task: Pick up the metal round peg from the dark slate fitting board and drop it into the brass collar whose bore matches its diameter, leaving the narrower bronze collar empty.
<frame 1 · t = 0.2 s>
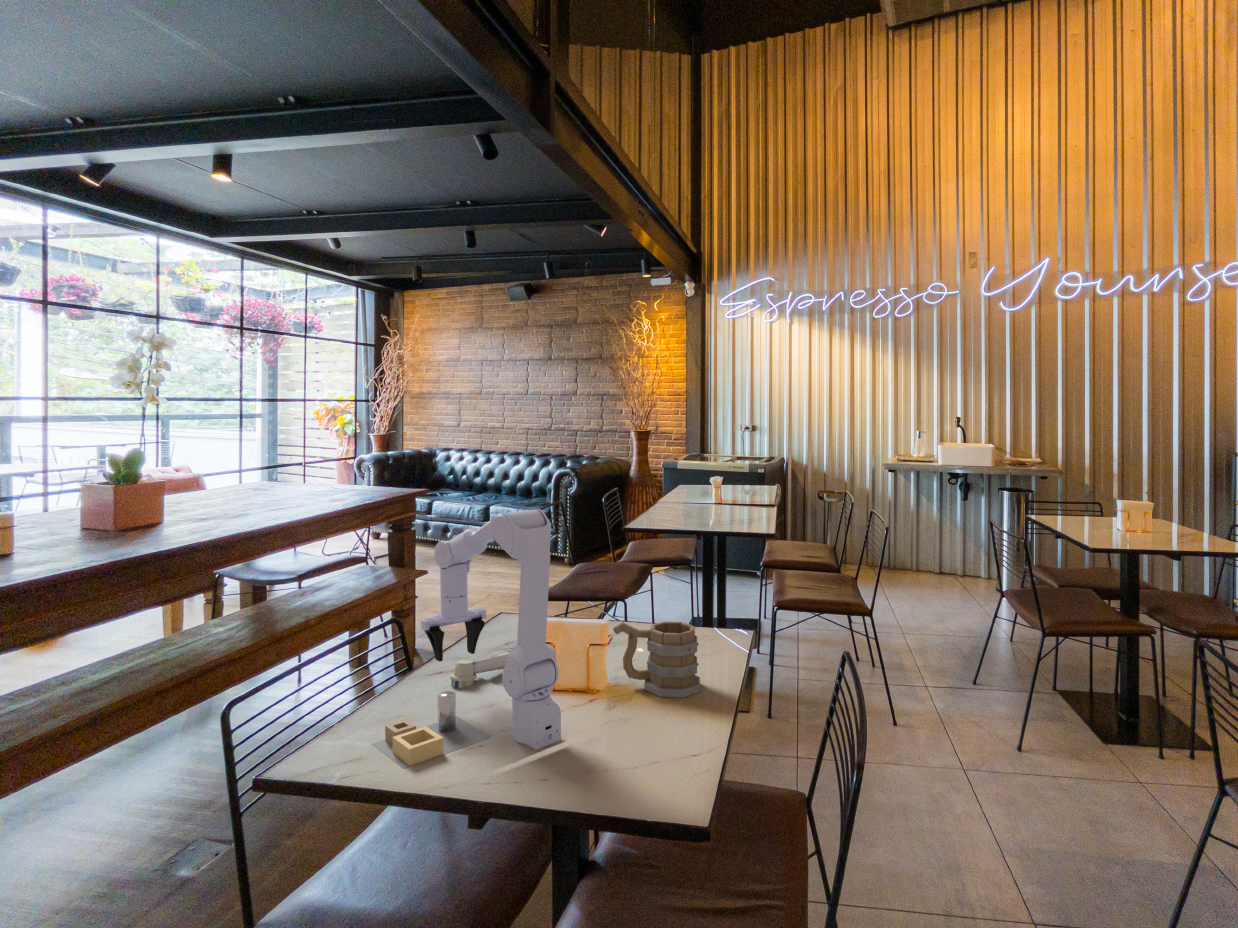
hand: (455, 656, 153), 10 cm above the table, tool pointing down, fingers open, 7 cm apart
fitting board: (432, 744, 132), on the table
metal round peg: (447, 728, 137), point 1 cm above the table, touching fitting board
tankard: (656, 687, 161), on the table
toothbrush head: (495, 676, 169), on the table
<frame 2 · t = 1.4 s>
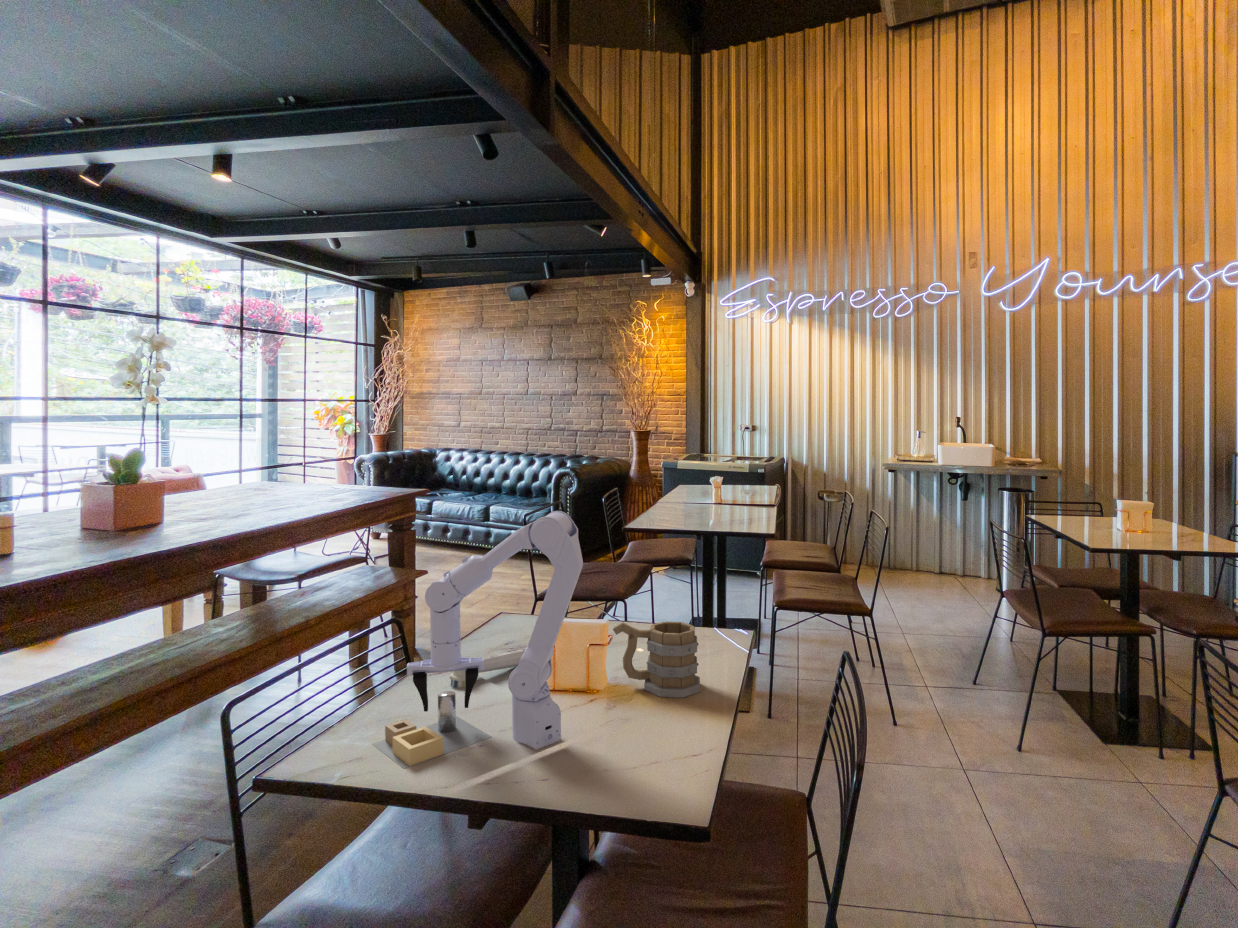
hand: (446, 707, 137), 5 cm above the table, tool pointing down, fingers open, 7 cm apart
nothing on the table moved.
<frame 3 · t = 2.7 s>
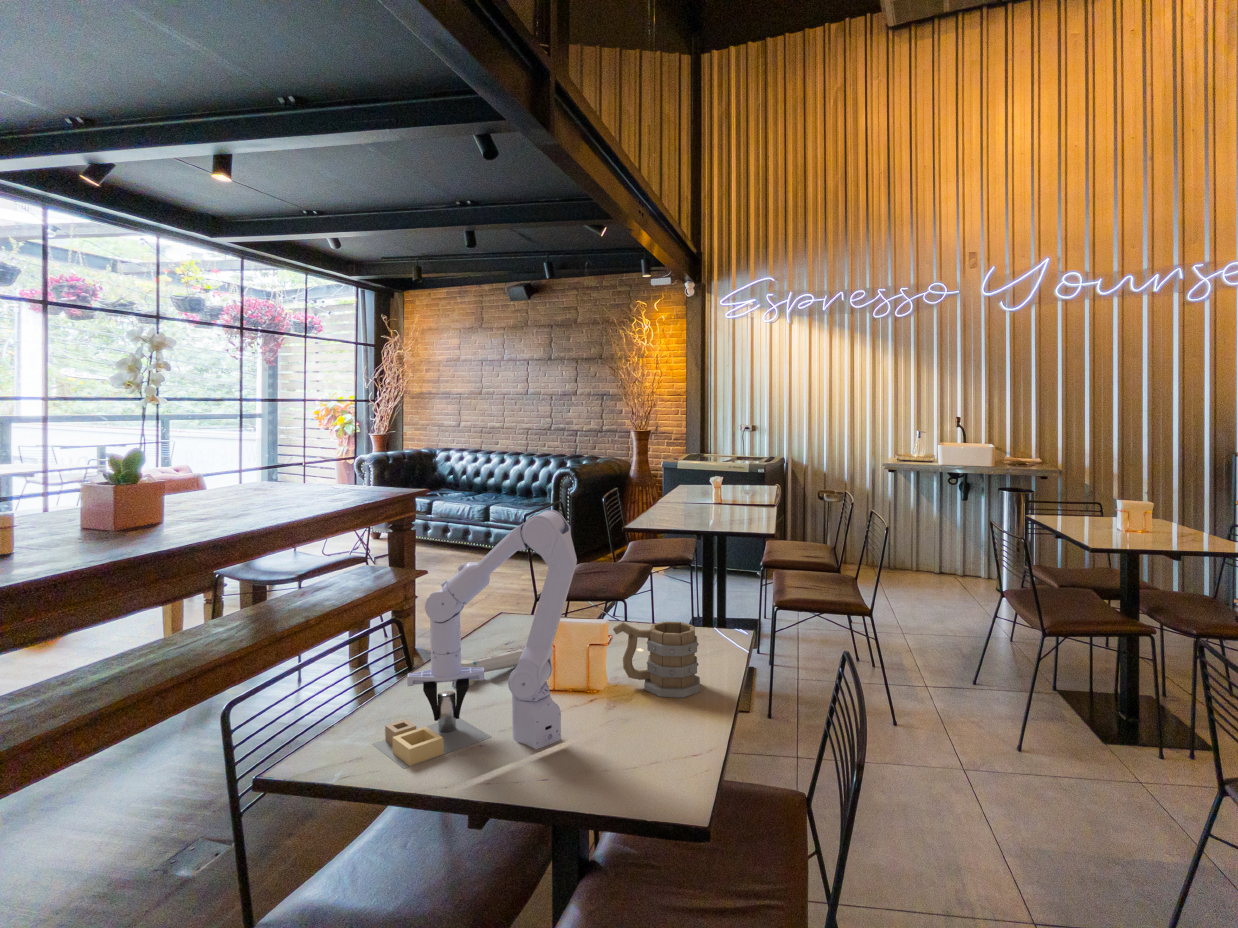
hand: (447, 717, 137), 3 cm above the table, tool pointing down, fingers closed on metal round peg, 3 cm apart
metal round peg: (447, 728, 137), point 1 cm above the table, touching fitting board, gripper
everything else where it was.
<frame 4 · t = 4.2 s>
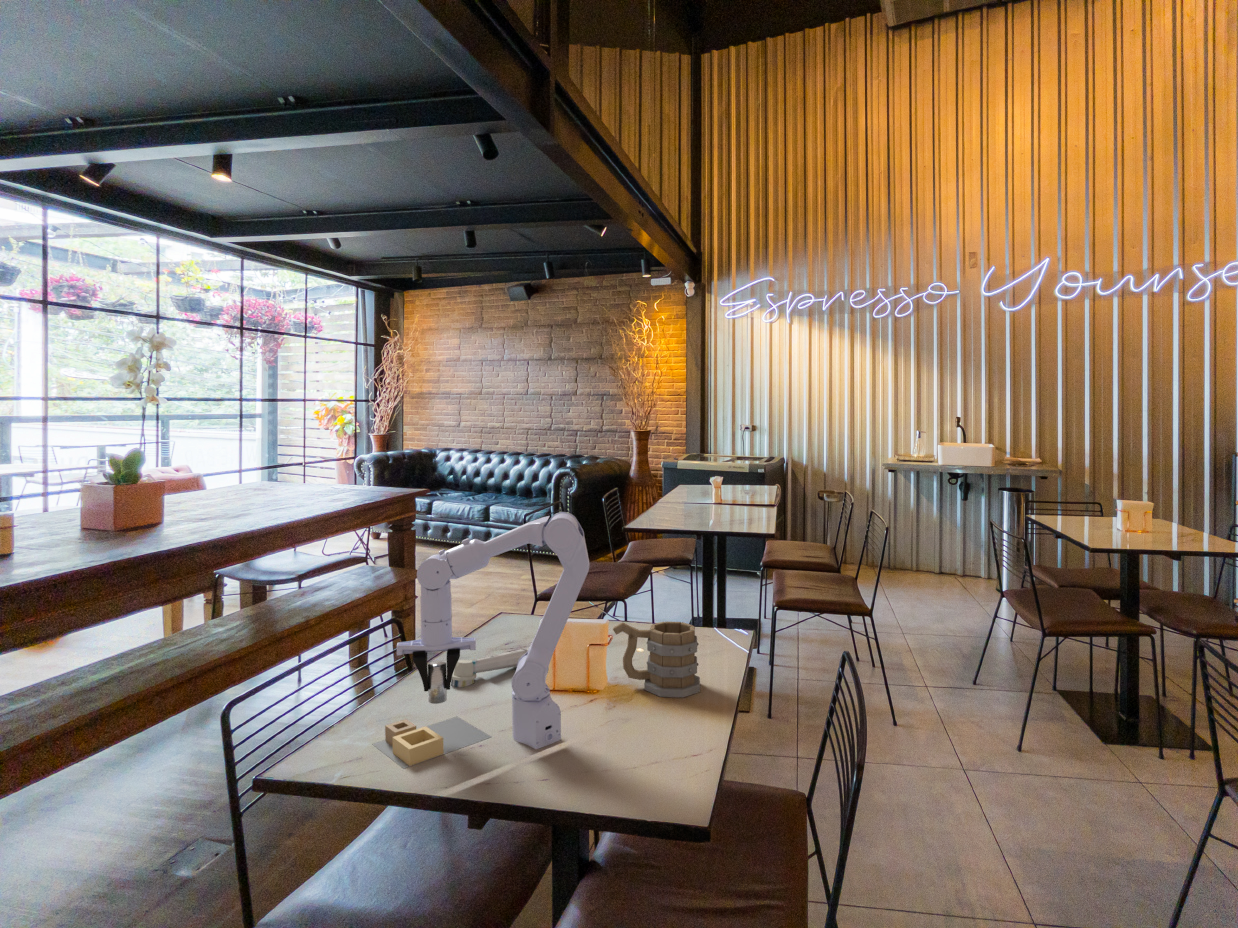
hand: (437, 688, 134), 10 cm above the table, tool pointing down, fingers closed on metal round peg, 3 cm apart
metal round peg: (437, 699, 134), point 8 cm above the table, touching gripper
everything else where it was.
when the fingers open (4 cm above the table, at t = 6.0 s): metal round peg drops 1 cm, resting on fitting board.
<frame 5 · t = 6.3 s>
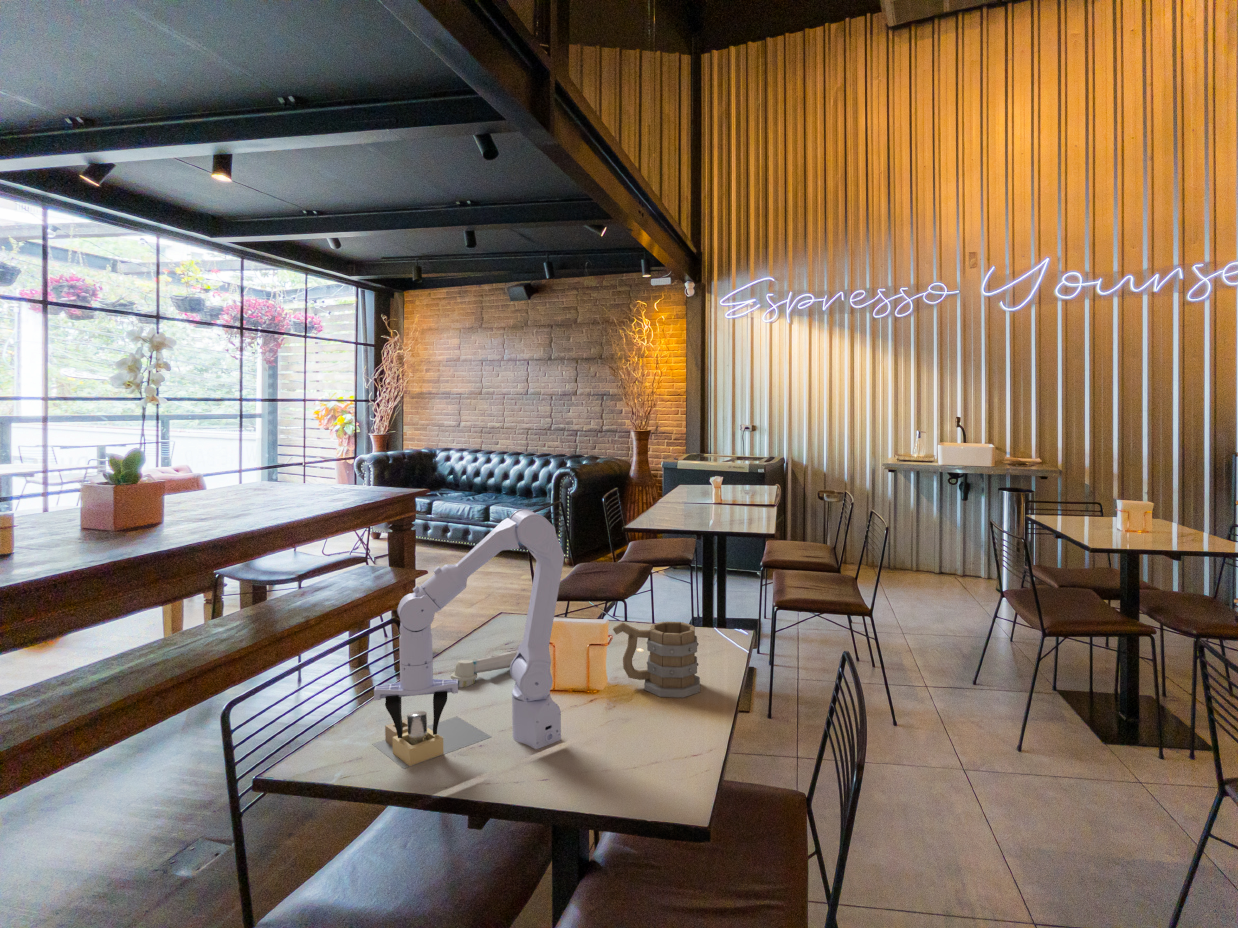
hand: (417, 733, 127), 4 cm above the table, tool pointing down, fingers open, 5 cm apart
metal round peg: (418, 752, 127), point 1 cm above the table, touching fitting board
everything else where it was.
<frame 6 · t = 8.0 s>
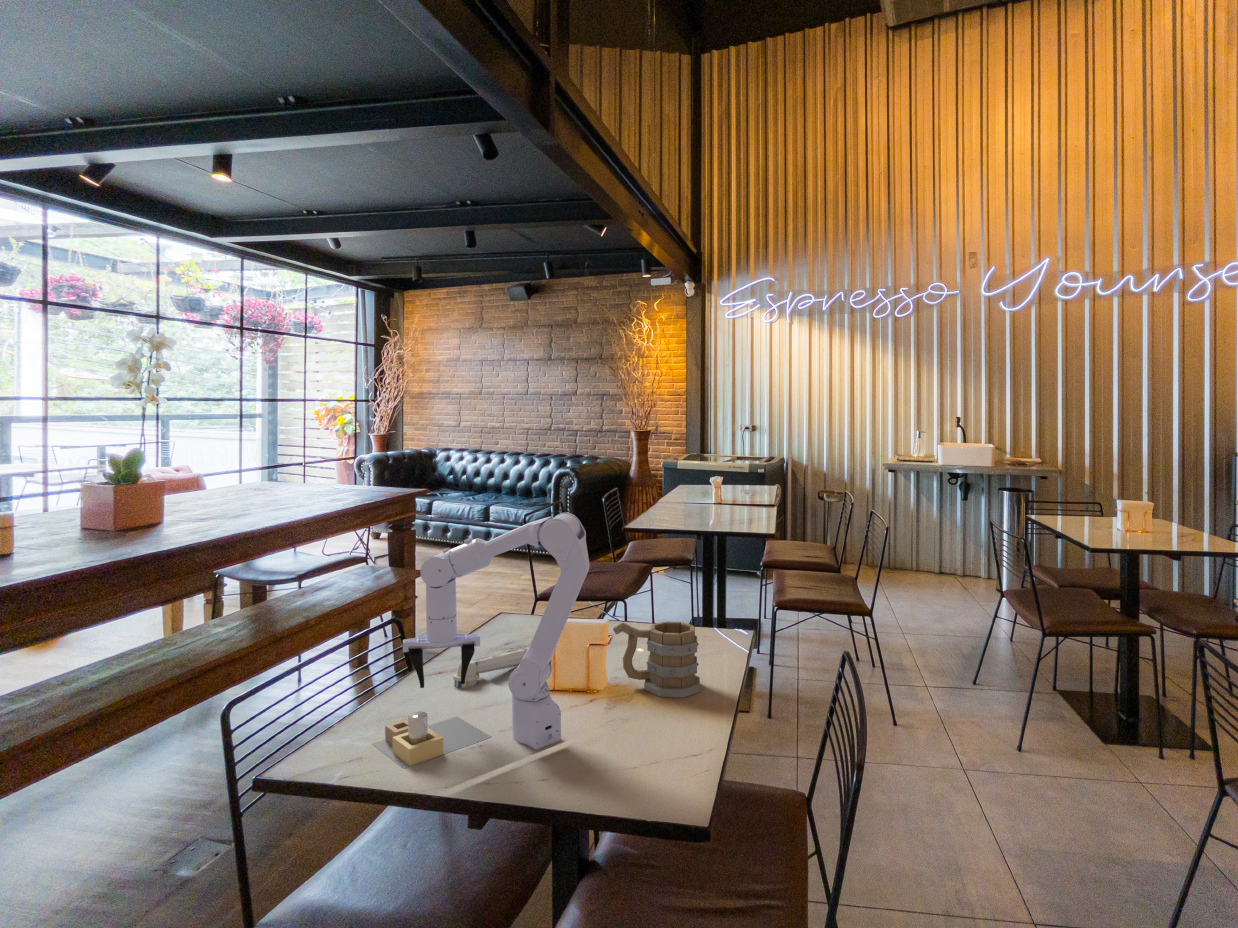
hand: (442, 684, 137), 10 cm above the table, tool pointing down, fingers open, 7 cm apart
nothing on the table moved.
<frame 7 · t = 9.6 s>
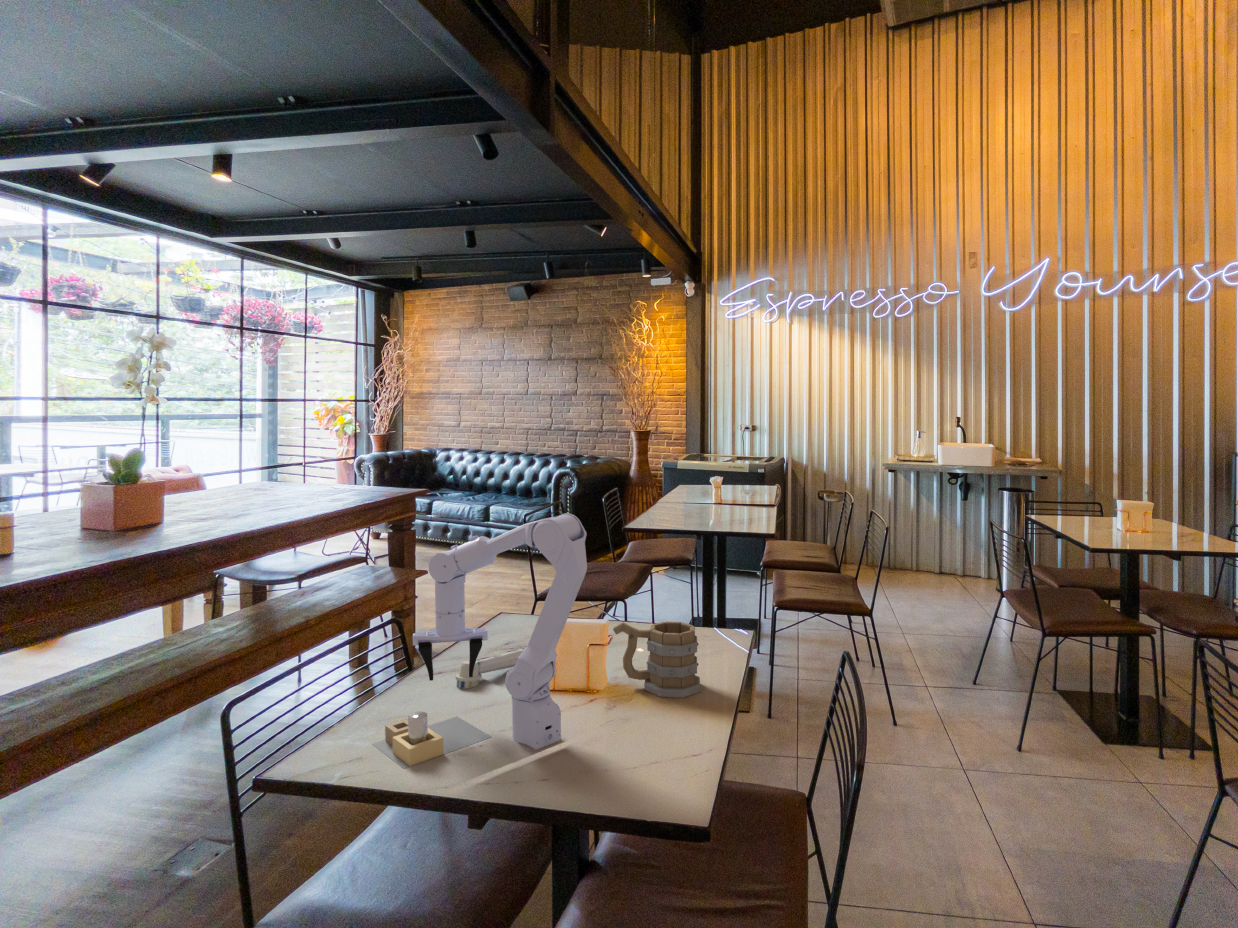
hand: (451, 677, 140), 10 cm above the table, tool pointing down, fingers open, 7 cm apart
nothing on the table moved.
at the end: metal round peg 0.1 cm from the target spot on the fitting board, point 0.8 cm above the fitting board's base; metal round peg tilted 0°; the gripper is holding nothing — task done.
